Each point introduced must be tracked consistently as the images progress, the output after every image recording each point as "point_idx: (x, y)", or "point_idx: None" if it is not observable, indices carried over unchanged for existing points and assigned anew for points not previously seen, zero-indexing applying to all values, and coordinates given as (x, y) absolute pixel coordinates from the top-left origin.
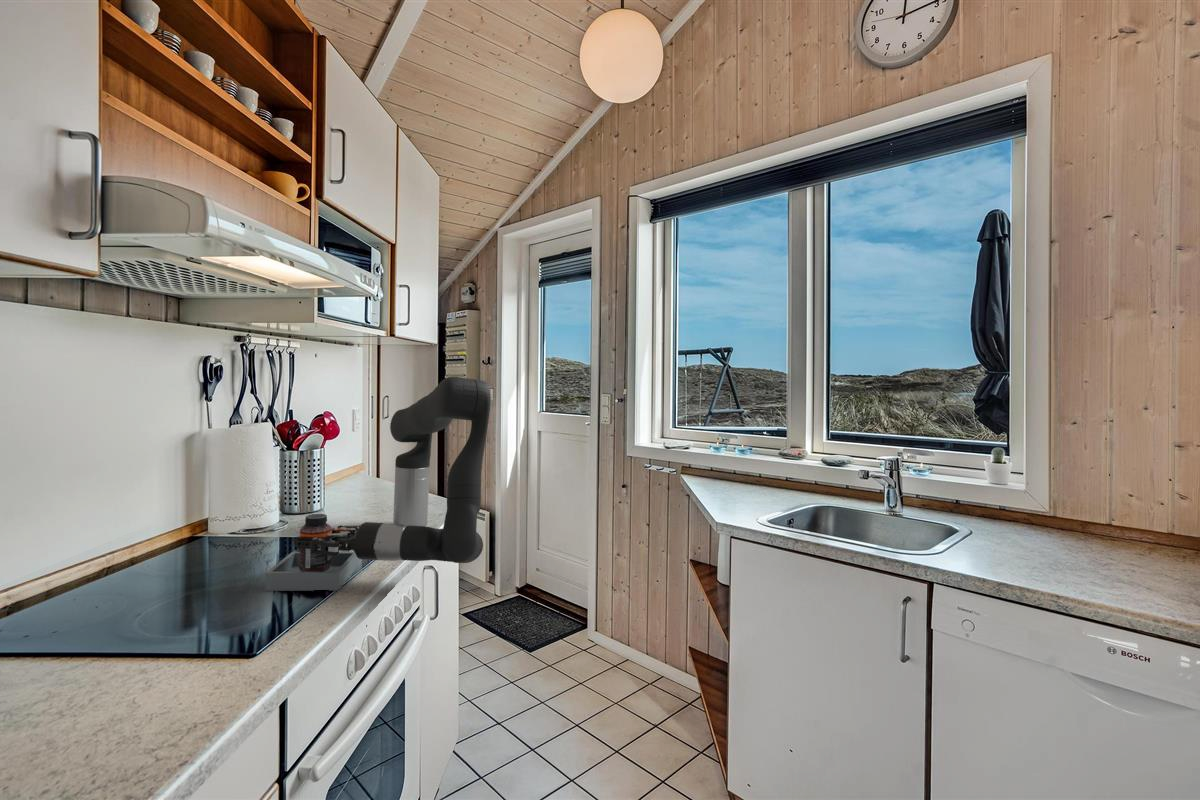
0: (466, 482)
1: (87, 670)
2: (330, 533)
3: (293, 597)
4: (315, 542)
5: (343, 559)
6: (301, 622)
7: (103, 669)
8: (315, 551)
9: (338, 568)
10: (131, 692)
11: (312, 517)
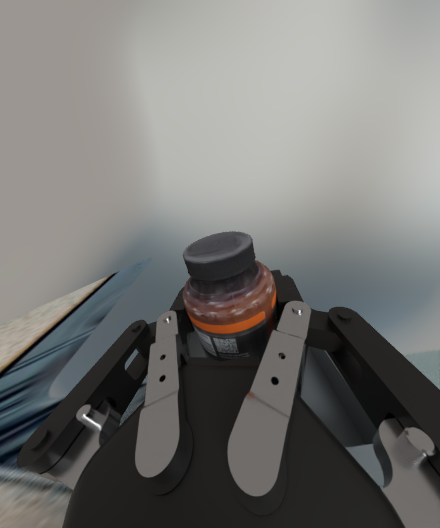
0: None
1: (57, 311)
2: (227, 331)
3: None
4: (120, 339)
5: (350, 404)
6: None
7: (50, 317)
8: (135, 358)
9: (312, 410)
10: None
11: (193, 247)
